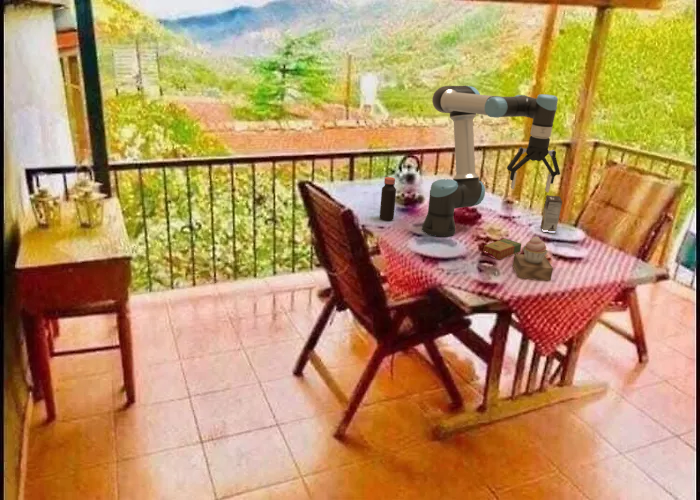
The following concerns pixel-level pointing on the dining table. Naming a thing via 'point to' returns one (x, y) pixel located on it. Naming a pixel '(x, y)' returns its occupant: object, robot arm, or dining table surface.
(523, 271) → the block
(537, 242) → the cupcake
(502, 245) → the carton
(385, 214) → the bottle
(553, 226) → the coffee box
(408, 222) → the dining table surface
